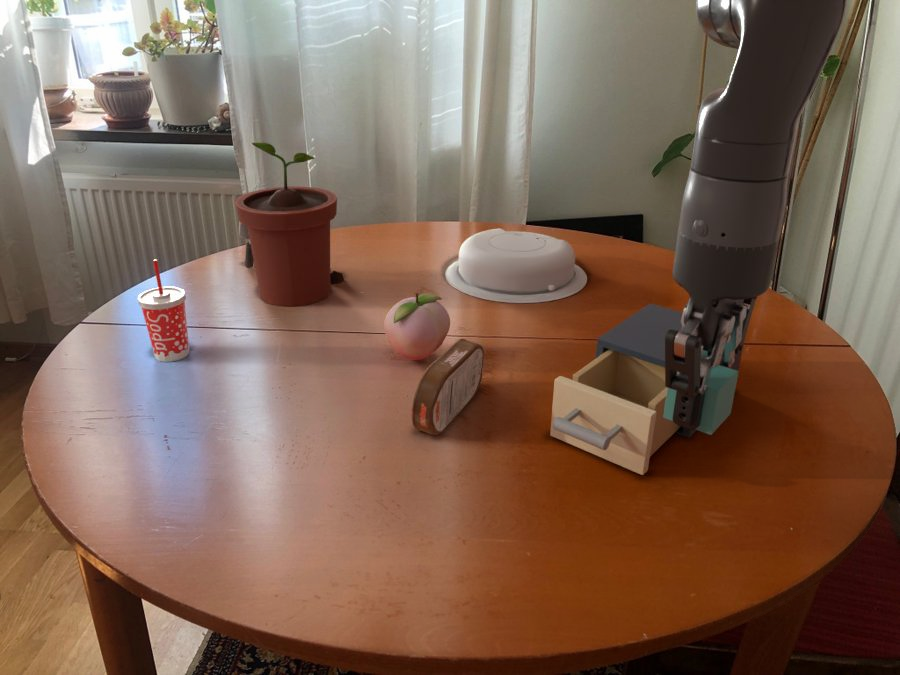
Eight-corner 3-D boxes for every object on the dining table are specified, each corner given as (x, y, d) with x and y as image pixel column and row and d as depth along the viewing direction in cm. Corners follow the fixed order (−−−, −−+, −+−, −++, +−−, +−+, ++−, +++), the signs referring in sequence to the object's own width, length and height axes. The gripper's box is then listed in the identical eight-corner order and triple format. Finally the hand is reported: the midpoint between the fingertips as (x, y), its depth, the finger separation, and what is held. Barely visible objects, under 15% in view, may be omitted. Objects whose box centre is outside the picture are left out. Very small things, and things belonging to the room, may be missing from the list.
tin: (465, 385, 96) (466, 326, 93) (487, 390, 95) (489, 331, 91) (409, 444, 84) (407, 379, 80) (434, 451, 83) (433, 385, 79)
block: (730, 414, 66) (739, 370, 64) (711, 435, 63) (719, 391, 61) (683, 397, 69) (690, 355, 67) (662, 417, 65) (669, 374, 64)
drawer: (623, 495, 75) (631, 433, 71) (528, 452, 81) (532, 394, 78) (692, 425, 86) (702, 370, 83) (604, 392, 93) (610, 340, 90)
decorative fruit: (409, 339, 108) (407, 275, 104) (458, 352, 104) (459, 287, 100) (372, 366, 101) (368, 298, 96) (423, 381, 97) (422, 311, 93)
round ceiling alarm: (416, 277, 130) (415, 244, 127) (501, 242, 147) (502, 212, 144) (533, 316, 115) (535, 279, 113) (613, 272, 133) (617, 239, 130)
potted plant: (231, 315, 116) (208, 153, 104) (245, 265, 135) (227, 125, 124) (345, 309, 118) (335, 150, 107) (343, 261, 137) (335, 123, 126)
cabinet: (687, 443, 85) (700, 372, 81) (590, 405, 92) (597, 338, 88) (733, 396, 94) (746, 330, 90) (641, 365, 101) (650, 303, 97)
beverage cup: (139, 358, 102) (119, 263, 96) (171, 341, 107) (155, 249, 101) (172, 368, 100) (154, 271, 94) (204, 349, 105) (189, 256, 99)
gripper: (743, 263, 51) (706, 467, 59) (806, 215, 61) (768, 395, 68) (642, 241, 55) (620, 433, 63) (717, 199, 65) (690, 370, 73)
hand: (697, 412), depth 66 cm, fingers closed on block, 4 cm apart
